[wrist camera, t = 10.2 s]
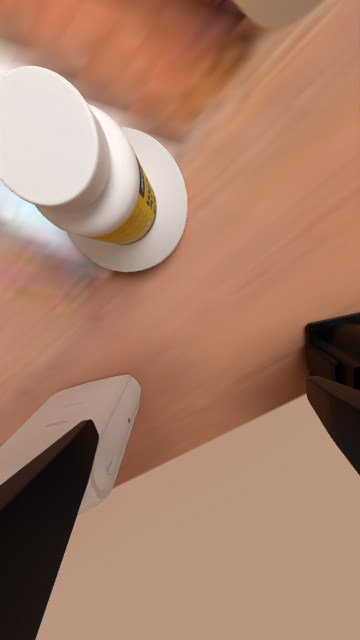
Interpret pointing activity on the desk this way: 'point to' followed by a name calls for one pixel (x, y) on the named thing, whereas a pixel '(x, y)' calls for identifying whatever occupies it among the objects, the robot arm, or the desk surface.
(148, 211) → the supplement bottle
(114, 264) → the plinth
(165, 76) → the desk surface
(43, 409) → the photo printer
